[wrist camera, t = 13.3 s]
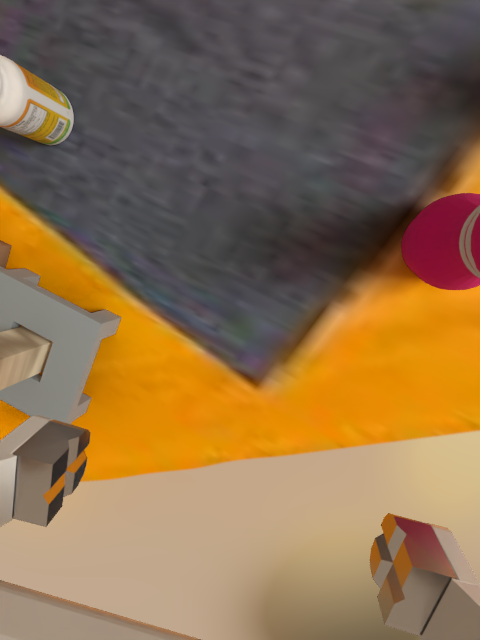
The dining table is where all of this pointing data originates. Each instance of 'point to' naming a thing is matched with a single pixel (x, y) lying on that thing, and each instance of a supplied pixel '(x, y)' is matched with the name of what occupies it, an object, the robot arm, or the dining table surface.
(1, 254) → the walnut peg
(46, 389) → the collar stand
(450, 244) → the pepper mill
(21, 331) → the maple peg
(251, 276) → the dining table surface
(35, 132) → the supplement bottle
